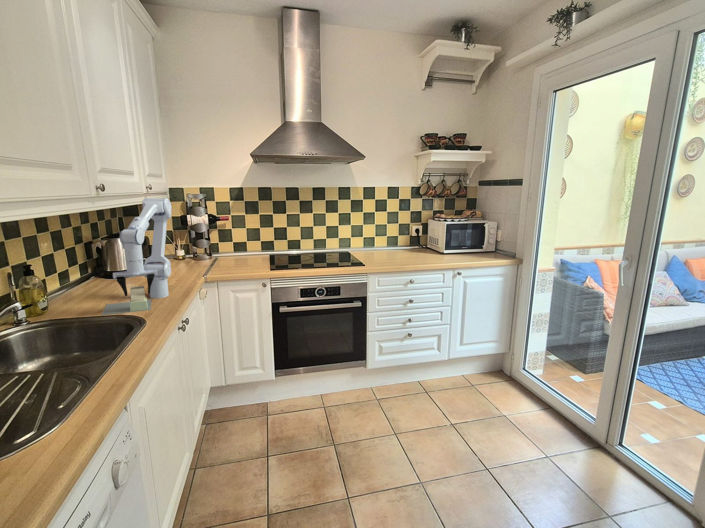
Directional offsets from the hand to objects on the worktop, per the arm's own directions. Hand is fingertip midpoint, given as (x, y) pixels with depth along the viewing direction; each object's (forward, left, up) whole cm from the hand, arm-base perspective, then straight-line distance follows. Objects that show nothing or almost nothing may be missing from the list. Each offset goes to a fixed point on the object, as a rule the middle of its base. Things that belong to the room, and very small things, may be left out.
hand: (137, 294), depth 136 cm
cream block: (0, 0, -2) cm, 2 cm away
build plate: (-4, -4, -6) cm, 9 cm away
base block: (0, 0, -6) cm, 6 cm away
